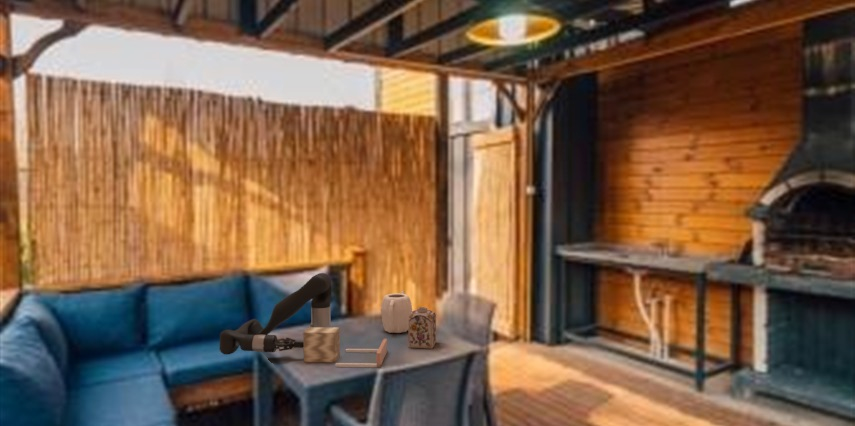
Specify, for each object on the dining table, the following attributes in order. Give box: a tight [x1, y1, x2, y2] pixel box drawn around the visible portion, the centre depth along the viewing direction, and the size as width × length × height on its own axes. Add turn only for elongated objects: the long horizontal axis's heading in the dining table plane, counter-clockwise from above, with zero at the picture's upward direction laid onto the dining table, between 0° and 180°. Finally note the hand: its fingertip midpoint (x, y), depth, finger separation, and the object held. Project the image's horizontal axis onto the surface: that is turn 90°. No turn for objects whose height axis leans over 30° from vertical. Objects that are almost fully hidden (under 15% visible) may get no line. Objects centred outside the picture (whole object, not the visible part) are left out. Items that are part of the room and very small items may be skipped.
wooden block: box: [302, 326, 341, 363], centre depth 271 cm, size 14×9×13 cm, turn 86°
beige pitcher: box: [380, 290, 413, 334], centre depth 320 cm, size 16×27×19 cm, turn 168°
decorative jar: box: [407, 306, 437, 349], centre depth 291 cm, size 12×12×18 cm
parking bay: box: [335, 338, 388, 368], centre depth 271 cm, size 19×23×6 cm
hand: (303, 344), depth 271 cm, fingers closed
